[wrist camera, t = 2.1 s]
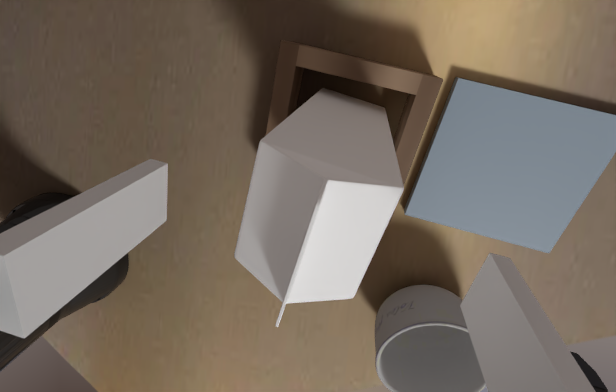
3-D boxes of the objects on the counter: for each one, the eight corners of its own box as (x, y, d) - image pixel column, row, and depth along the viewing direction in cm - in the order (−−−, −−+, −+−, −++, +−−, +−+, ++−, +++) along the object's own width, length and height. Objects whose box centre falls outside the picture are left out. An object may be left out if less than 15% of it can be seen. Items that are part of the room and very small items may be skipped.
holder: (269, 171, 34) (257, 186, 30) (291, 41, 29) (280, 40, 25) (387, 203, 33) (389, 222, 30) (433, 75, 28) (443, 79, 24)
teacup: (392, 258, 36) (398, 311, 29) (491, 287, 35) (522, 349, 28) (355, 344, 42) (351, 405, 35) (438, 370, 41) (452, 438, 34)
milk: (385, 107, 30) (422, 227, 10) (362, 167, 32) (353, 359, 12) (321, 86, 30) (228, 163, 10) (303, 148, 32) (201, 306, 12)
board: (403, 210, 33) (404, 214, 32) (455, 77, 28) (458, 78, 27) (544, 247, 32) (549, 253, 31) (627, 117, 27) (636, 120, 26)
